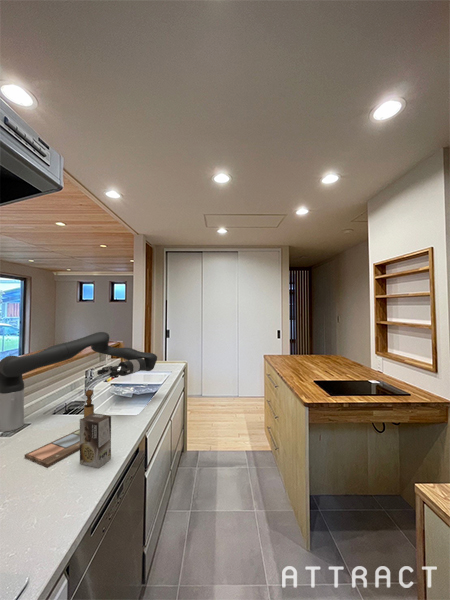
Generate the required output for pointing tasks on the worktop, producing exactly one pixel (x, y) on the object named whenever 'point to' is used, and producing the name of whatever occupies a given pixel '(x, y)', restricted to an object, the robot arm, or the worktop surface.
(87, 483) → the worktop surface
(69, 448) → the tile board
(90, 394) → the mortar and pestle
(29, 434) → the worktop surface
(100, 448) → the coffee box
